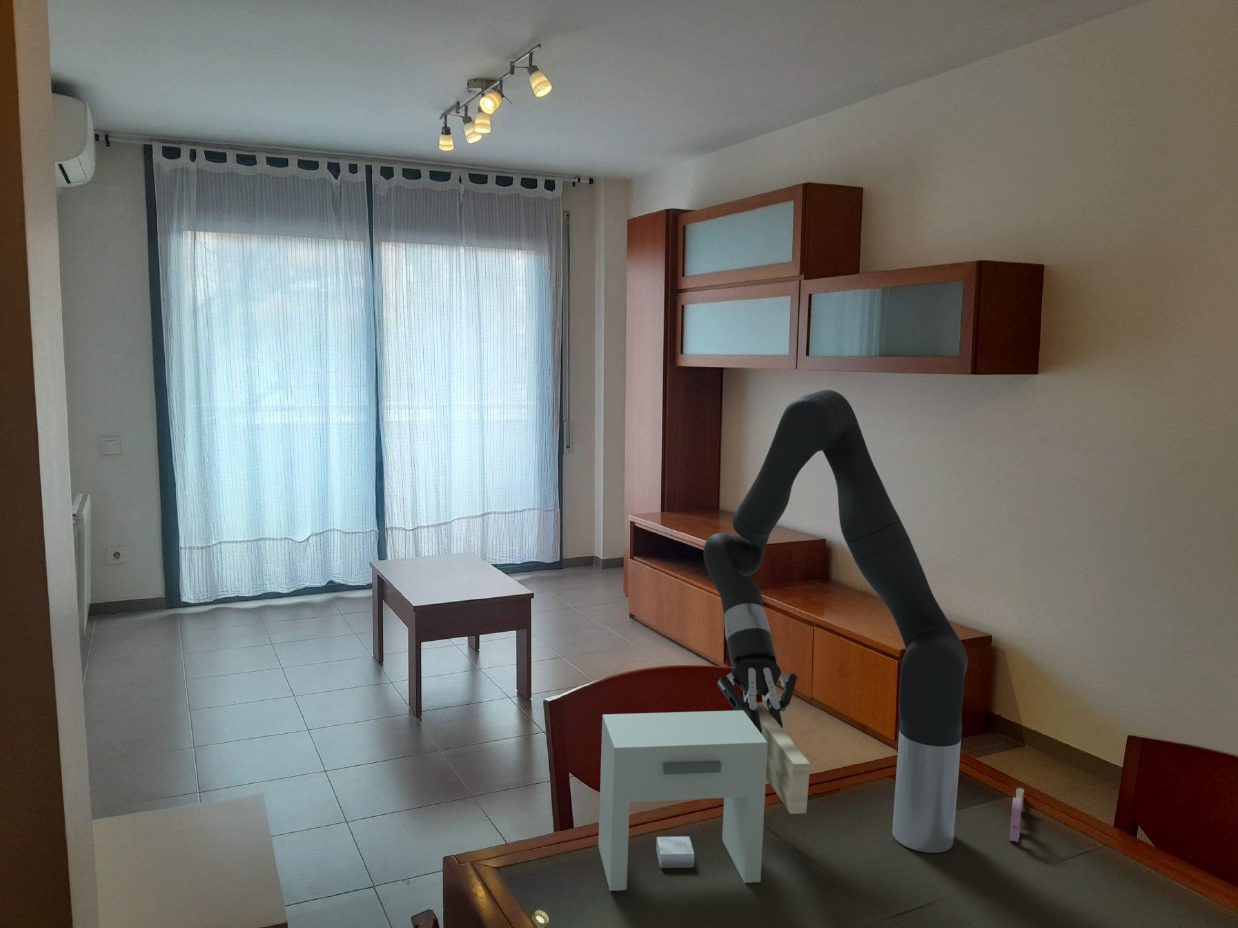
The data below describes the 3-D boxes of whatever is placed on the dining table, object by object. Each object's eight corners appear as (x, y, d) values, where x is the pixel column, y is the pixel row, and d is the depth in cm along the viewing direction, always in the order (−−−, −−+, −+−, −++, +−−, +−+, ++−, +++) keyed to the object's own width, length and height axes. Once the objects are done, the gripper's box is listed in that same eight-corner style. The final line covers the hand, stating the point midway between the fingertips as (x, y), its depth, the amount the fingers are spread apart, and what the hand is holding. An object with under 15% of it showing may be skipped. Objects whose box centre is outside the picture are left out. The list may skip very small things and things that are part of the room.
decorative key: (1023, 812, 162) (1017, 846, 144) (1015, 811, 162) (1008, 844, 145) (1026, 774, 162) (1020, 802, 144) (1019, 772, 163) (1012, 801, 145)
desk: (598, 846, 141) (602, 714, 138) (737, 838, 144) (743, 710, 142) (611, 895, 128) (615, 751, 125) (763, 886, 131) (770, 745, 129)
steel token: (656, 851, 140) (656, 836, 140) (688, 851, 141) (689, 836, 141) (660, 869, 135) (660, 854, 135) (693, 869, 136) (694, 853, 136)
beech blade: (744, 745, 153) (747, 702, 152) (758, 745, 153) (761, 702, 152) (790, 813, 131) (793, 764, 130) (806, 812, 132) (810, 763, 131)
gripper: (713, 626, 152) (730, 727, 141) (794, 625, 154) (816, 724, 143) (704, 647, 157) (719, 745, 147) (781, 646, 160) (802, 742, 149)
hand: (767, 734), depth 145 cm, fingers closed on beech blade, 2 cm apart
